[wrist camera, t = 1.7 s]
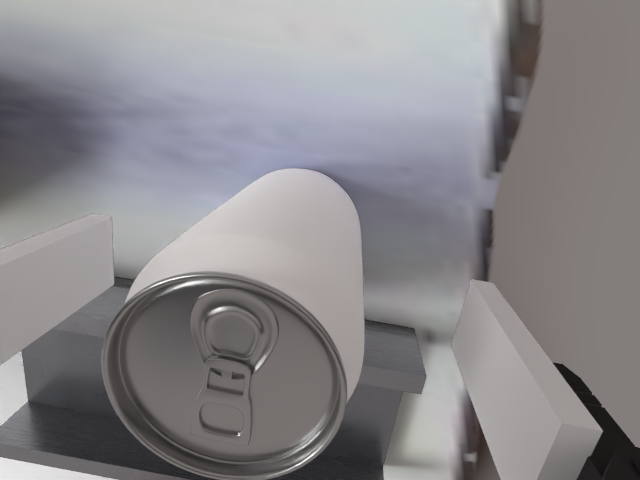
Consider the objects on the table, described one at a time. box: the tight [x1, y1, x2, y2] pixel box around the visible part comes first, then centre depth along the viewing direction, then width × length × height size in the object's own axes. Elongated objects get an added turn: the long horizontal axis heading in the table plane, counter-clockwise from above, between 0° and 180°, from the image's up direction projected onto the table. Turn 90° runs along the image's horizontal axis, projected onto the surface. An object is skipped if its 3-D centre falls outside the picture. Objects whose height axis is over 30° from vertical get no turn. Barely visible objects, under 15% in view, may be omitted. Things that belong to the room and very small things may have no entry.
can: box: [101, 168, 365, 480], centre depth 14 cm, size 6×6×12 cm
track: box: [0, 277, 426, 480], centre depth 21 cm, size 22×10×4 cm, turn 82°
